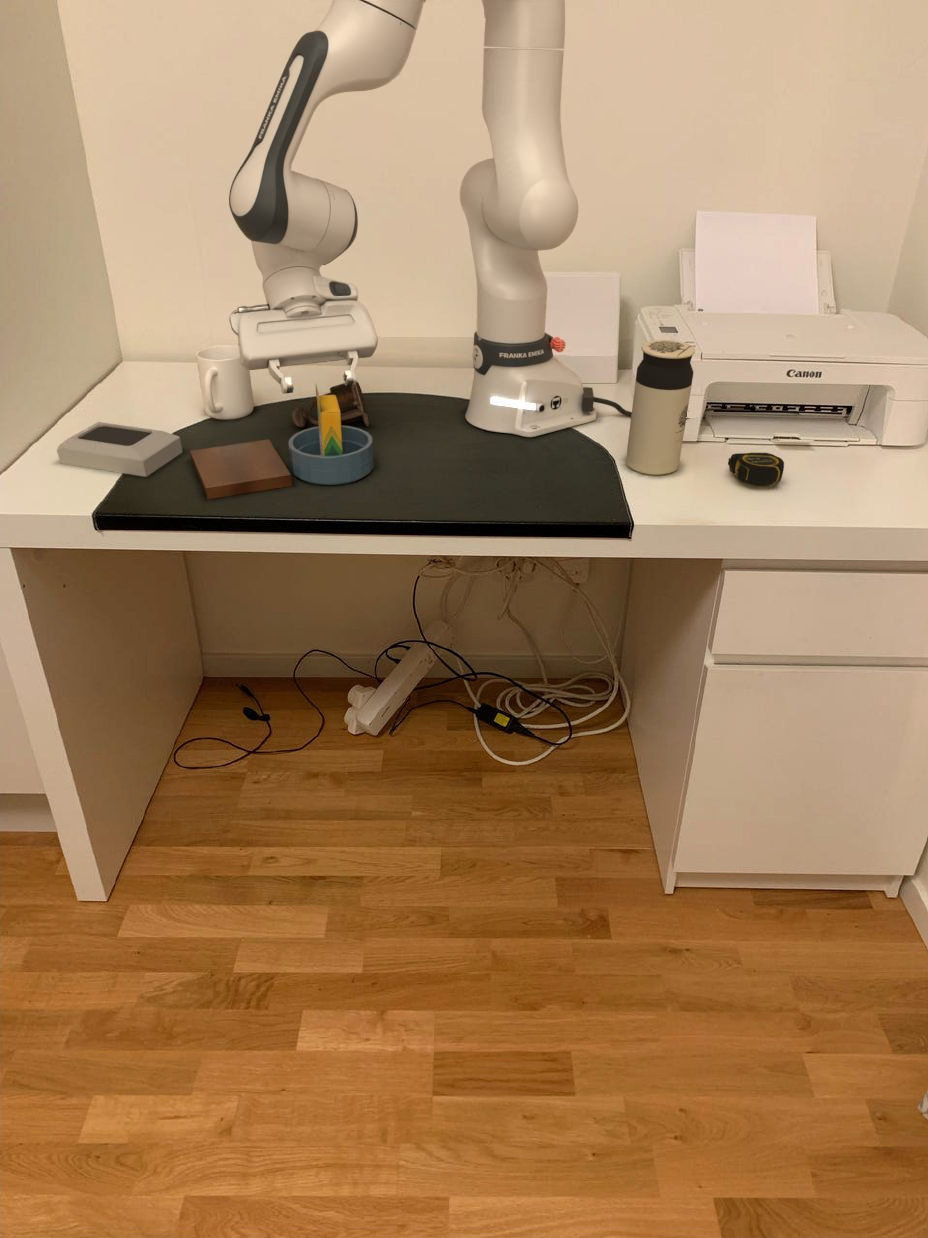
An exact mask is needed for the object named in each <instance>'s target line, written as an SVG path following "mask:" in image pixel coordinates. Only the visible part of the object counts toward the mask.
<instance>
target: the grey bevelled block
mask: <svg viewBox="0 0 928 1238" xmlns="http://www.w3.org/2000/svg"><path fill="white" fill-rule="evenodd" d="M56 452H57V457H58V459H59V463H60V464H61V465H62V464H63V465H68V466H69V465H70V466H74V467H81V468H82V467H83V468H87V469H88V468H89V469H94V470H99V471H106V472H107V471H108V472H113V473H120V474H125V475H132V476H139V477H145V478H146V477H148V476H150V475H151V474H152V473H154V472H156V471H157V470H159V469H161V468H162V467H163V466H164V465H167V464H168V463H169V462H170V461H173V460H174V459H175V458H176V457H178V456H179V455H181V454H182V453H183V447H182V440H181V437H180V436H179V435H176V434H173V433H169V432H166V431H164V430H159V429H158V430H157V429H152V428H144V427H139V426H138V427H137V426H131V425H123V424H116V423H110V422H102V421H98V422H96V423H93V424H92V425H90V426H88V427H86V428H85V429H83V430H81V431H79V432H77V433H76V434H73V435H72V436H70V437H69V438H67V439H65V440H64V441H63V442H61V443H60V444H59V445H58V446H57V448H56Z"/></svg>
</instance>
